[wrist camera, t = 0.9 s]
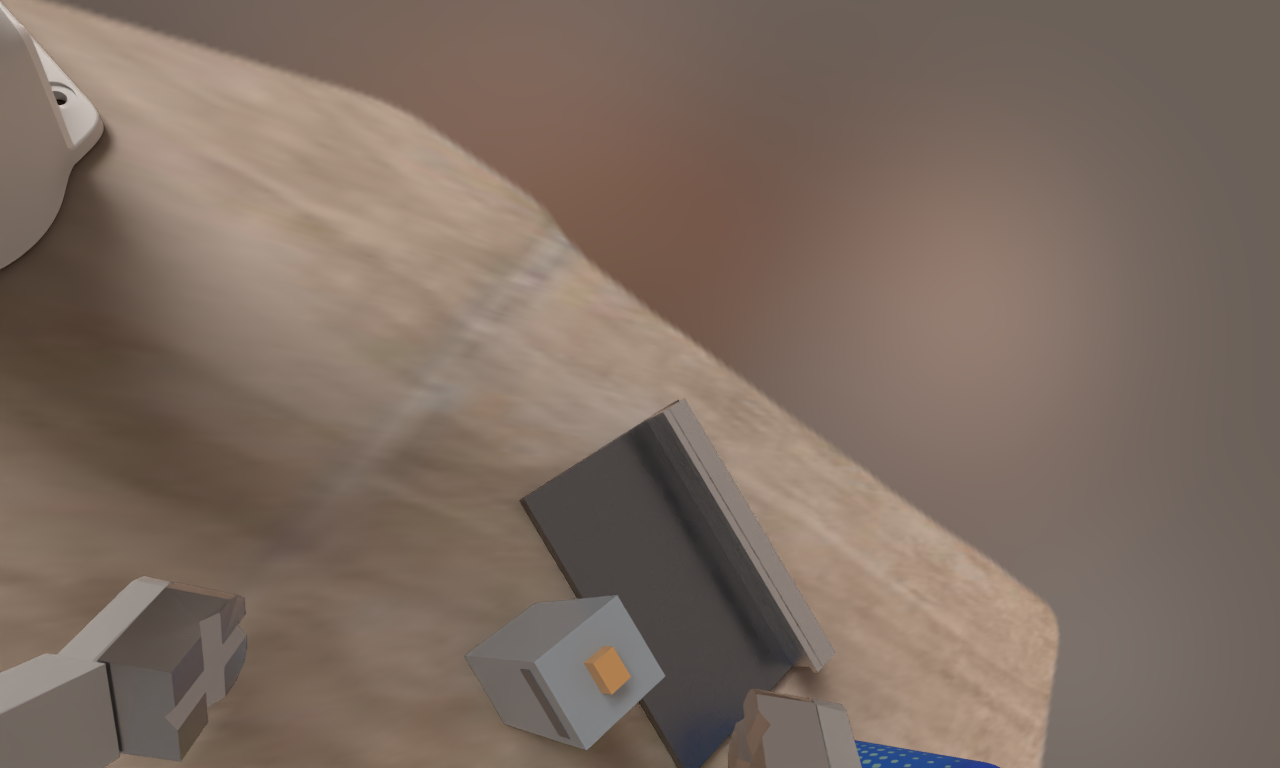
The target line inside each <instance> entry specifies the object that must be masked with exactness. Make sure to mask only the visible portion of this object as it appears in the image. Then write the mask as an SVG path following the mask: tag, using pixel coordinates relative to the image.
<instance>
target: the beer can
mask: <svg viewBox="0 0 1280 768" xmlns="http://www.w3.org/2000/svg"><path fill="white" fill-rule="evenodd" d="M854 741H855V744H856V748H857V752H858V755H859V759H860V763H861V766H862V768H1000V767H998V766H996V765H993V764H989V763H986V762H980V761H974V760H968V759H962V758H956V757H950V756H944V755H938V754H932V753H927V752H921V751H915V750H909V749H903V748H897V747H891V746H885V745H879V744H873V743H868V742H862V741H856V740H854Z"/></svg>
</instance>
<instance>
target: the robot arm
mask: <svg viewBox="0 0 1280 768" xmlns="http://www.w3.org/2000/svg"><path fill="white" fill-rule="evenodd" d="M56 99H59V100H64V101H66V103H65V104H63V105H58V103H57V101H56ZM103 128H104V126H103V122H102V120H101V118H100V115H99V113H98V111H97V109H96V108H95V106H94V105H93V104H92V103H91V102H90V101H89V99H88V98H87V97H86V96H85V95H84V94H83V93H82V92H81V91H80V89H79V88H78V87H77V86H76V85H75V84H74V83H73V82H72V81H71V79H70V78H69V77H68V76H67V75H66V74H65V73H64V72H63V70H62V69H61V68H60V67H59V66H58V65H57V64H56V63H55V62H54V60H53V59H52V58H51V57H50V56H49V55H48V54H47V53H46V52H45V50H44V49H43V48H42V47H41V46H40V45H39V44H38V43H37V42H36V40H35V39H34V38H33V37H32V36H31V35H30V34H29V33H28V31H27V30H26V28H25V27H24V26H23V25H21V24H20V23H19V21H18V20H17V19H16V18H15V17H14V16H13V15H12V14H11V13H10V11H9V10H8V9H7V8H6V7H5V6H4V5H3V4H2V3H1V1H0V269H2V268H4V267H5V266H7V265H9V264H10V263H12V262H13V261H15V260H16V259H18V258H19V257H20V256H22V255H23V254H24V253H25V252H27V251H28V250H29V249H30V248H31V247H32V246H33V245H34V244H35V243H36V242H38V240H39V239H40V238H41V237H42V236H43V235H44V234H45V232H46V231H47V230H48V228H49V227H50V226H51V224H52V222H53V221H54V219H55V217H56V216H57V213H58V211H59V209H60V207H61V204H62V201H63V198H64V194H65V190H66V186H67V182H68V178H69V175H70V173H71V170H72V168H73V166H74V165H75V164H76V163H77V162H78V161H79V160H80V159H81V158H82V157H83V156H84V155H85V154H86V153H87V152H88V151H89V150H90V149H91V148H92V147H93V146H94V145H95V144H96V143H97V141H98V140H99V139H100V137H101V135H102V133H103ZM245 614H246V611H245V601H244V597H241V596H239V595H236V594H231V593H226V592H221V591H217V590H212V589H207V588H202V587H198V586H193V585H188V584H183V583H179V582H171V581H166V580H162V579H157V578H152V577H147V576H142V577H140V578H137V579H135V580H133V581H132V582H130V583H129V584H128V585H127V586H126V587H125V588H124V589H123V590H122V591H121V592H120V593H119V594H118V595H117V596H116V597H115V598H114V599H113V600H112V601H111V602H110V603H109V604H108V605H107V606H106V607H105V608H104V609H103V610H102V611H101V612H100V613H99V614H98V615H97V616H95V617H94V618H93V619H92V620H91V621H90V622H89V623H88V624H87V625H86V626H85V627H84V628H83V629H82V630H81V631H80V632H79V633H78V634H77V635H76V636H75V637H74V638H73V639H72V640H71V641H70V642H69V643H68V644H67V645H66V646H65V647H64V648H63V649H62V650H61V651H60V652H59V653H58V654H57V655H56V654H49V653H45V654H43V655H41V656H38V657H36V658H33V659H31V660H29V661H26V662H24V663H22V664H19V665H17V666H15V667H12V668H10V669H8V670H5V671H3V672H1V673H0V768H104V767H105V766H107V765H108V764H110V763H111V762H113V761H114V760H116V759H117V758H119V757H120V753H123V754H130V755H137V756H145V757H152V758H159V759H166V760H173V761H180V762H181V761H182V759H183V758H184V756H185V755H186V753H187V752H188V750H189V749H190V748H191V746H192V745H193V743H194V742H195V740H196V739H197V738H198V736H199V735H200V733H201V732H202V730H203V729H204V727H205V726H206V725H207V723H208V713H207V707H209V706H210V705H212V704H214V703H216V702H218V701H219V700H221V699H223V698H225V697H226V695H227V694H228V692H229V691H230V689H231V688H232V686H233V685H234V683H235V682H236V680H237V678H238V675H239V673H240V670H241V668H242V666H243V663H244V660H245V655H246V650H247V635H246V634H245V632H244V631H243V630H242V629H241V628H240V626H239V625H238V624H239V622H240V621H241V620H242V618H243V617H244V615H245ZM743 708H744V719H742V720H741V721H739V722H737V723H736V724H735V727H734V730H733V733H732V736H731V740H730V746H729V753H728V768H862V766H861V763H860V759H859V755H858V752H857V748H856V744H855V741H854V737H853V733H852V730H851V726H850V722H849V719H848V715H847V711H846V709H845V708H844V707H843V705H842V704H838V703H832V702H826V701H821V700H815V699H811V700H810V699H809V698H805V697H799V696H793V695H787V694H781V693H776V692H770V691H764V690H758V689H751V690H750V691H749V692H748V693H747V696H746V698H745V701H744V703H743Z"/></svg>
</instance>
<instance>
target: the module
mask: <svg viewBox="0 0 1280 768" xmlns="http://www.w3.org/2000/svg"><path fill="white" fill-rule="evenodd" d="M465 658H466V660H467V661H468V663H469V665H470V666H471V668H472V670H473V671H474V673H475V675H476V676H477V678H478V680H479V682H480V683H481V685H482V687H483V688H484V690H485V692H486V693H487V695H488V697H489V698H490V700H491V702H492V703H493V705H494V707H495V708H496V710H497V712H498V714H499V715H500V717H501V719H502V720H503V722H504V724H506V725H509V726H512V727H515V728H518V729H521V730H524V731H527V732H531V733H534V734H537V735H540V736H543V737H546V738H549V739H552V740H555V741H559V742H562V743H565V744H568V745H571V746H574V747H577V748H580V749H583V750H588V749H589V748H590V747H591V746H592V745H593V744H594V743H595V742H596V741H597V740H598V739H599V738H600V737H601V736H603V735H604V734H605V733H606V732H607V731H608V730H609V729H610V728H611V727H612V726H613V725H614V724H615V723H616V722H617V721H618V720H619V719H621V718H622V717H623V716H624V715H625V714H626V713H627V712H628V711H629V710H630V709H631V708H632V707H633V706H634V705H635V704H636V703H637V702H639V701H640V700H641V699H642V698H643V697H644V696H645V695H646V694H647V693H648V692H649V691H650V690H651V689H652V688H653V687H654V686H655V685H657V684H658V683H659V682H660V681H661V680H662V679H663V678H664V677H665V674H664V673H663V671H662V669H661V668H660V666H659V664H658V663H657V661H656V659H655V658H654V656H653V654H652V653H651V651H650V649H649V648H648V646H647V644H646V643H645V641H644V639H643V637H642V636H641V634H640V632H639V631H638V629H637V627H636V626H635V624H634V622H633V621H632V619H631V617H630V616H629V614H628V612H627V611H626V609H625V607H624V606H623V604H622V602H621V600H620V599H619V597H618V595H613V596H603V597H593V598H583V599H573V600H562V601H552V602H542V603H534V604H533V605H531V606H530V607H529V608H527V609H526V610H525V611H523V612H522V613H521V614H519V615H518V616H517V617H515V618H514V619H513V620H511V621H510V622H509V623H507V624H506V625H505V626H503V627H502V628H501V629H499V630H498V631H497V632H495V633H494V634H493V635H491V636H490V637H489V638H487V639H486V640H485V641H483V642H482V643H481V644H479V645H478V646H477V647H475V648H474V649H473V650H471V651H470V652H469V653H467V654H466V655H465Z"/></svg>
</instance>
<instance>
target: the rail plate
mask: <svg viewBox="0 0 1280 768" xmlns="http://www.w3.org/2000/svg"><path fill="white" fill-rule="evenodd" d="M519 501H520V502H521V504H522V506H523V507H524V509H525V511H526V512H527V514H528V516H529V517H530V519H531V521H532V522H533V524H534V526H535V527H536V529H537V531H538V532H539V534H540V536H541V538H542V539H543V541H544V543H545V544H546V546H547V548H548V549H549V551H550V553H551V554H552V556H553V558H554V559H555V561H556V563H557V564H558V566H559V568H560V570H561V571H562V573H563V575H564V576H565V578H566V580H567V581H568V583H569V585H570V586H571V588H572V590H573V591H574V593H575V595H576V596H577V598H578V599H583V598H593V597H603V596H613V595H618V597H619V599H620V600H621V602H622V604H623V606H624V607H625V609H626V611H627V612H628V614H629V616H630V617H631V619H632V621H633V622H634V624H635V626H636V627H637V629H638V631H639V632H640V634H641V636H642V637H643V639H644V641H645V643H646V644H647V646H648V648H649V649H650V651H651V653H652V654H653V656H654V658H655V659H656V661H657V663H658V664H659V666H660V668H661V669H662V671H663V673H664V674H665V677H664V678H663V679H662V680H661V681H660V682H659V683H658V684H657V685H655V686H654V687H653V688H652V689H651V690H650V691H649V692H648V693H647V694H646V695H645V696H644V697H643V698H642V699H641V700H640V701H639V703H640V704H641V706H642V708H643V709H644V711H645V713H646V714H647V716H648V718H649V719H650V721H651V723H652V724H653V726H654V728H655V729H656V731H657V733H658V735H659V736H660V738H661V740H662V741H663V743H664V745H665V746H666V748H667V750H668V751H669V753H670V755H671V756H672V758H673V760H674V761H675V763H676V765H677V767H678V768H699V767H700V766H701V765H702V764H703V763H704V762H705V761H706V760H707V759H708V758H709V757H710V755H711V754H712V753H713V752H714V751H715V750H716V749H717V748H718V747H719V746H720V745H721V743H722V742H723V741H724V740H725V739H726V738H727V737H728V736H729V735H730V734H731V733H732V731H733V730H734V727H735V724H736V723H737V722H739V721H741V720H742V719H744V708H743V703H744V701H745V698H746V696H747V693H748V692H749V691H750V690H751V689H758V690H764V691H770V690H771V689H772V688H773V687H774V686H775V685H776V683H777V682H778V681H779V680H780V679H781V678H782V677H783V676H784V675H785V674H786V673H787V671H788V670H789V669H790V668H791V667H792V666H803V667H810V668H811V670H812V671H813V672H819V671H820V670H821V669H822V667H823V666H824V665H825V664H826V663H827V662H828V661H829V659H830V658H831V657H832V656H833V655H834V654H835V653H836V652H835V650H834V649H833V647H832V645H831V643H830V642H829V640H828V638H827V637H826V635H825V633H824V632H823V630H822V628H821V627H820V625H819V623H818V622H817V620H816V618H815V617H814V615H813V613H812V612H811V610H810V608H809V606H808V605H807V603H806V601H805V600H804V598H803V596H802V595H801V593H800V591H799V590H798V588H797V586H796V585H795V583H794V581H793V580H792V578H791V576H790V575H789V573H788V571H787V570H786V568H785V566H784V564H783V563H782V561H781V559H780V558H779V556H778V554H777V553H776V551H775V549H774V548H773V546H772V544H771V543H770V541H769V539H768V538H767V536H766V534H765V533H764V531H763V529H762V527H761V526H760V524H759V522H758V521H757V519H756V517H755V516H754V514H753V512H752V511H751V509H750V507H749V506H748V504H747V502H746V501H745V499H744V497H743V496H742V494H741V492H740V490H739V489H738V487H737V485H736V484H735V482H734V480H733V479H732V477H731V475H730V474H729V472H728V470H727V469H726V467H725V465H724V464H723V462H722V460H721V459H720V457H719V455H718V454H717V452H716V450H715V448H714V447H713V445H712V443H711V442H710V440H709V438H708V437H707V435H706V433H705V432H704V430H703V428H702V427H701V425H700V423H699V422H698V420H697V418H696V417H695V415H694V413H693V411H692V410H691V408H690V406H689V405H688V403H687V401H686V400H685V399H683V400H681V401H679V400H677V401H675V402H673V403H672V404H670V405H668V406H667V407H665V408H664V409H662V410H661V411H659V412H657V413H656V414H654V415H653V416H651V417H650V418H648V419H646V420H645V421H643V422H642V423H640V424H639V425H637V426H635V427H634V428H632V429H631V430H629V431H628V432H626V433H624V434H623V435H621V436H620V437H618V438H617V439H615V440H613V441H612V442H610V443H609V444H607V445H606V446H604V447H602V448H601V449H599V450H598V451H596V452H595V453H593V454H591V455H590V456H588V457H587V458H585V459H584V460H582V461H580V462H579V463H577V464H576V465H574V466H573V467H571V468H569V469H568V470H566V471H565V472H563V473H562V474H560V475H558V476H557V477H555V478H554V479H552V480H551V481H549V482H547V483H546V484H544V485H543V486H541V487H540V488H538V489H536V490H535V491H533V492H532V493H530V494H529V495H527V496H525V497H524V498H522V499H521V500H519Z"/></svg>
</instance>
